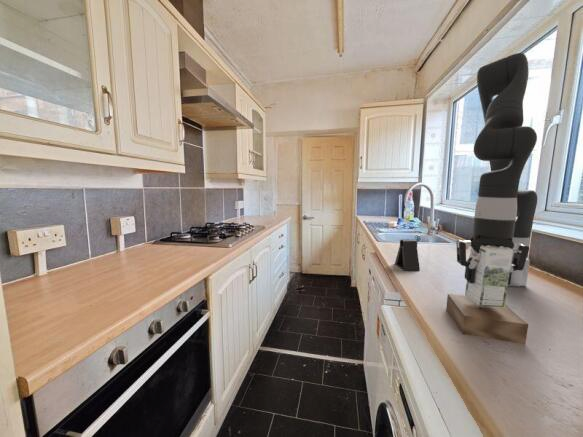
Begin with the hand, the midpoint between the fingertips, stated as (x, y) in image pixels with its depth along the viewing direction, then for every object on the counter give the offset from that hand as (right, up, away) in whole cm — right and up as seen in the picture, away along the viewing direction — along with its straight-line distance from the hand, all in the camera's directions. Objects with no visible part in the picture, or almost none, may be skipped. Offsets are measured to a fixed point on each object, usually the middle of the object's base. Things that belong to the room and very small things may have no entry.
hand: (486, 283), depth 59 cm
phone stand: (+1, -5, +43) cm, 44 cm away
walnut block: (0, -11, +1) cm, 11 cm away
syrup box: (0, -5, +1) cm, 5 cm away
